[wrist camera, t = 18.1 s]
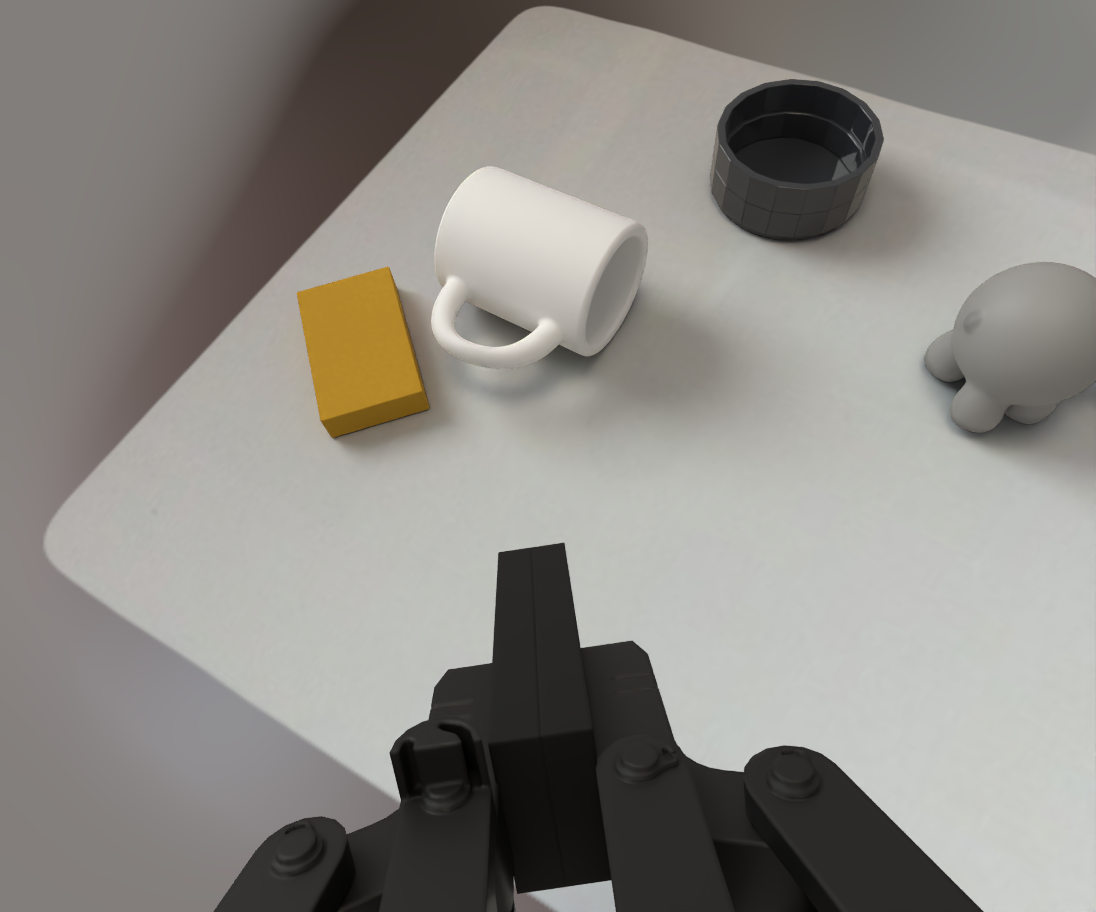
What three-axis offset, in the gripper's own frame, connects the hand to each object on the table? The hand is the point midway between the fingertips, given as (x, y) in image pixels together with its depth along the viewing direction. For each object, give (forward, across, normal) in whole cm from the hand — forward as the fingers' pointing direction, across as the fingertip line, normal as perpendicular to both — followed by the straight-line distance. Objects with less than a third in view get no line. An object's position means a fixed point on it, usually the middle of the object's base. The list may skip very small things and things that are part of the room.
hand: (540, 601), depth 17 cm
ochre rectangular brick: (+32, -10, +2) cm, 33 cm away
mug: (+32, +1, +2) cm, 32 cm away
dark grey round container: (+38, +19, +8) cm, 43 cm away
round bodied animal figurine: (+25, +28, -4) cm, 38 cm away
